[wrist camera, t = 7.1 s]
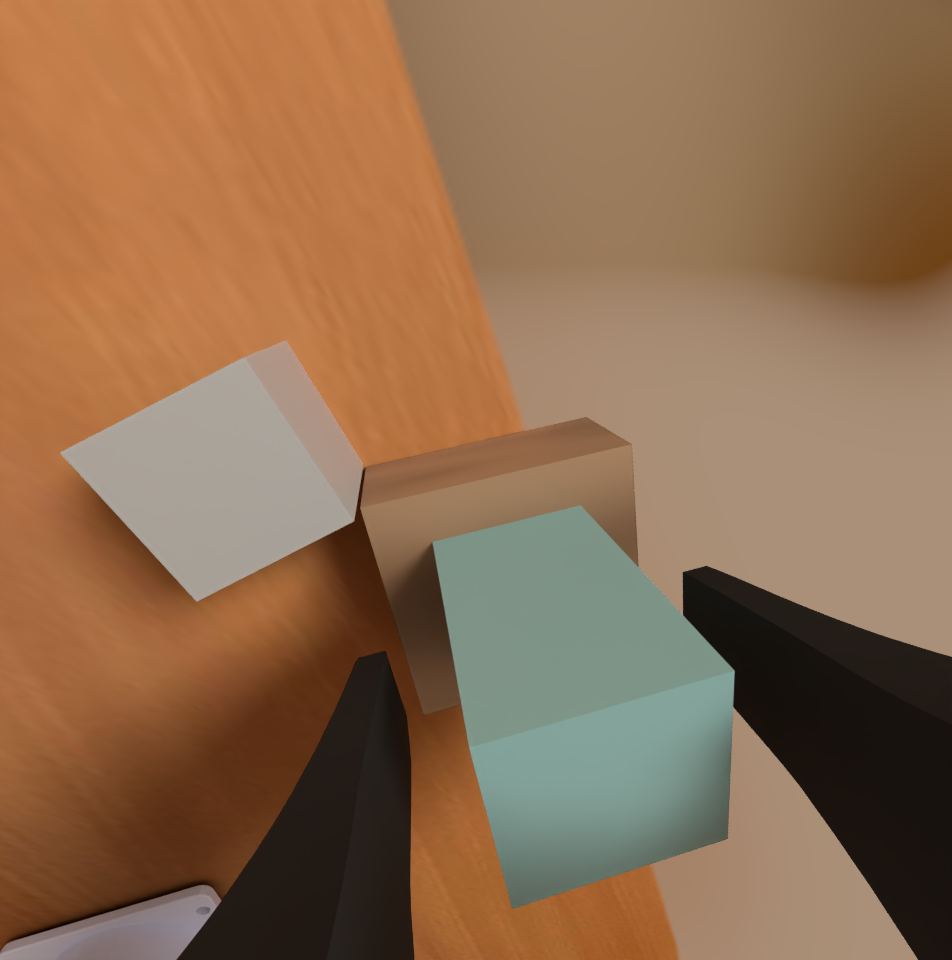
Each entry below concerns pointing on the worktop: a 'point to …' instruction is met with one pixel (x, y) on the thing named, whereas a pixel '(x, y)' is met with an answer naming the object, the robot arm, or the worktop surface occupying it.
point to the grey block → (227, 471)
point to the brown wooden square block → (483, 520)
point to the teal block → (583, 704)
